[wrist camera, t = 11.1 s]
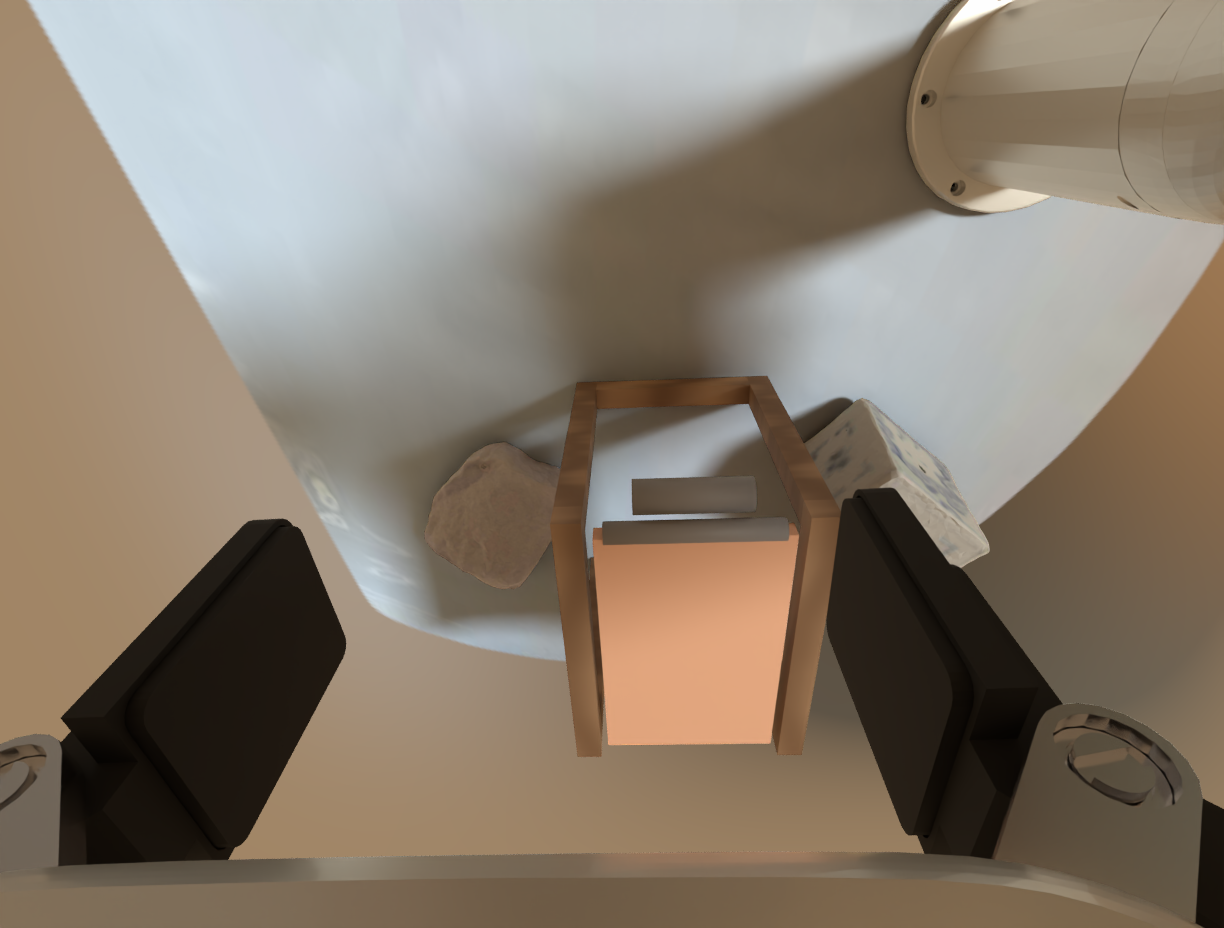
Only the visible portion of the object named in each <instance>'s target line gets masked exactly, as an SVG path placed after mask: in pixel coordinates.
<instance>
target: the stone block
mask: <svg viewBox="0 0 1224 928" xmlns="http://www.w3.org/2000/svg"><path fill="white" fill-rule="evenodd" d="M559 474H560V468H558V467H556V466H551V465H549V464H546V463H543V462H538V461H535V460H533V459H532V458H530V457H529V456H528V455H526V454H525V453H524V452H523V451H522V450H520V449H518V448H516V447H514V446H512V445H511V444H509V443H506V442H501V443H494V444H489V445H487V446H484V447H483V448H482V449H480V450H478V451H476V452H474V453H473V454H472V455H471V456H470V457H469V458H468V459H467V460H466V461H465V462H464V464H463V465H462V466H461V467H460V469H459V470H458V471H457V472H456V473H455V474H453V475H452V476H451V477H450V478H449V480H448V482H446V483H445V484H444V485H443V486H442V487H441V489H440V490H439V491H438V492H437V493H436V495H435V496H434V498H433V502H432V507H431V512H430V514H429V521H428V524H427V526H426V530H425V531H424V532H425V535H424V536H425V540H426V542H427V544H429V546H430V547H431V548H432V550H433V551H434V552H435V553H436V554H438V555H440V556H441V557H443V558H445V559H446V560H448V561H449V562H450V563H452V564H454V565H455V566H457V567H458V568H459V569H461V570H462V571H463V572H466V573H469V574H471V575H474V576H475V577H476V578H478V579H479V580H480V581H482V582H484V583H486V584H488V585H490V586H493V587H496V588H500V589H506V588H511V589H515V588H517V587H520V586H521V585H522V583H523V582H524V581H525V580H526V579H527V578H528V576H529V575H530V573H531V572H532V570H533V569H534V567H535V566H536V565H537V563H538V562H539V560H540V558H541V557H542V555H543V554H544V552H545V550H546V548H547V547H548V545H549V543H550V542H551V540H552V538H551V529H550V521H551V516H552V511H553V506H554V500H555V495H556V490H557V485H558V479H559Z"/></svg>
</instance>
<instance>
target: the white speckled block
mask: <svg viewBox="0 0 1224 928" xmlns="http://www.w3.org/2000/svg"><path fill="white" fill-rule="evenodd" d="M804 445H805V446H806V448H807V450H808V452H809V454H810V455H811V457H812V459H813V461H814V463H815V465H816V466H817V468H818V470H819V472H820V474H821V476H822V477H823V479H824V481H825V483H826V485H827V487H828V488H829V490H830V492H831V494H832V496H833V498H834V499H835V501H836V503H837V505H838V507H839V509H840V510H841V507H842V502H843V500H844V499H846V498H853V494H854V493H855V491H856V490H857V489H869V488H889V487H891V488H895V489H896V490H897V491H898V493H899V494H900V496H901V497H902V498H903V500H904V501H905V502H906V504H907V505H908V507H909V508H910V509H911V511H912V512H913V514H914V515H915V516H916V518H917V519H918V520H919V522H920V523H921V525H922V526H923V527H924V529H925V530H926V532H927V533H928V534H929V536H930V537H931V539H932V540H933V541H934V543H935V544H936V545H937V547H938V548H939V550H940V551H941V552H942V554H943V555H944V557H945V558H946V559H947V561H948V562H949V563H950V564H954V565H956V566H958V567H960V568H961V567H963V566H964V565H965V564H967V563H969V562H971V561H973V560H975V559H976V558H978V557H980V556H983V555H985V554H987V553H988V552H989V543H988V541H987V539H986V537H985V536H984V534H983V532H982V531H981V529H980V527H979V525H978V524H977V521H976V520H975V518H974V516H973V515H972V513H971V512H970V510H969V508H968V506H967V504H966V502H965V500H964V499H963V497H962V495H961V494H960V492H959V490H958V488H957V486H956V484H955V481H954V479H953V477H952V475H951V473H950V471H949V470H948V469H947V467H946V466H945V465H944V464H943V463H942V462H941V461H940V460H939V459H938V458H937V457H935V456H934V455H933V454H931V453H930V452H929V451H928V450H926V449H925V448H924V447H923V446H921V445H920V444H919V443H918V442H916V441H915V440H914V439H913V438H912V437H911V436H910V435H909V434H908V433H907V432H905V431H904V430H903V429H902V428H901V427H900V426H898V425H897V424H895V423H894V422H893V421H892V420H891V419H890V418H889V417H888V416H887V415H886V414H885V413H883V412H882V411H881V410H880V409H879V408H878V407H877V406H876V405H874V404H873V403H872V402H870V401H869V400H866V399H863V398H861V399H859V400H856V401H855V402H854V403H853V404H852V405H851V406H850V407H849V408H848V409H846V410H845V411H844V412H843V413H841V414H840V415H839V416H838V417H837V418H836V419H835V420H834V421H833V422H831V423H830V424H829V425H828V426H827V427H825V428H824V429H823V430H821V431H820V432H819V433H818V434H817V435H815V436H814V437H813V438H811V439H810V440H808V441H807V442H805V443H804Z"/></svg>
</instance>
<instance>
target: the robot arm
mask: <svg viewBox="0 0 1224 928" xmlns="http://www.w3.org/2000/svg"><path fill="white" fill-rule="evenodd" d="M923 94H924V95H925V96H926V101H925V102H924V103H923V104H921V98H922V95H923ZM906 132H907V139H908V146H909V151H910V154H911V157H912V160H913V163H914V166H915V168H916V170H917V172H918V173H919V175H920V176H921V178H922V180H923V181H924V183H925V184H926V185H927V186H928V187H929V188H930V189H931V190H932V191H933V192H934V193H935V194H936V195H937V196H938V197H940V198H942V199H943V200H945V201H947V202H949V203H950V204H952V205H954V206H958V207H961V208H964V209H967V210H972V211H978V212H984V213H997V212H1009V211H1013V210H1018V209H1022V208H1026V207H1029V206H1031V205H1034V204H1036V203H1039V202H1041V201H1043V200H1046V199H1048V198H1050V197H1051V196H1055V197H1060V198H1066V199H1072V200H1077V201H1083V202H1088V203H1094V204H1099V205H1105V206H1111V207H1116V208H1122V209H1127V210H1133V211H1139V212H1144V213H1150V214H1155V215H1161V216H1166V217H1172V218H1178V219H1186V220H1192V221H1198V222H1203V223H1211V224H1221V225H1224V0H962V1H961V2H960V3H959V4H958V5H957V6H956V7H955V8H954V9H953V10H952V11H951V12H950V14H949V15H948V16H947V18H946V19H945V20H944V22H943V23H942V24H941V26H940V27H939V28H938V30H937V31H936V32H935V34H934V36H933V37H932V39H931V41H930V43H929V45H928V47H927V48H926V50H925V52H924V54H923V56H922V58H921V60H920V63H919V66H918V68H917V71H916V74H915V76H914V79H913V81H912V86H911V91H910V95H909V100H908V105H907V122H906ZM953 183H954V184H955V187H954V189H953V190H952V191H951V190H950V188H951V186H952V184H953ZM826 621H827V632H828V636H829V639H830V642H831V644H832V647H833V650H834V653H835V655H836V658H837V660H838V663H839V665H840V668H841V671H842V673H843V676H844V678H845V681H846V684H847V686H848V689H849V691H850V694H851V696H852V699H853V702H854V704H855V707H856V710H857V712H858V714H859V717H860V720H861V723H862V725H863V727H864V730H865V733H866V735H867V738H868V741H869V743H870V746H871V749H872V751H873V754H874V756H875V759H876V761H877V764H878V767H879V769H880V772H881V774H882V777H883V780H884V782H885V785H886V787H887V790H888V793H889V795H890V798H891V800H892V803H893V805H894V808H895V811H896V813H897V816H898V818H899V821H900V823H901V826H902V828H903V829H904V831H905V832H906V834H908V835H917V836H918V839H919V841H920V844H921V846H922V848H923V851H924V854H919V853H900V852H897V853H896V852H686V853H685V852H684V853H683V852H681V853H680V852H679V853H593V854H591V853H585V854H523V855H522V854H521V855H520V854H518V855H456V856H455V855H454V856H396V857H342V858H295V859H249V860H228V859H229V857H230V855H231V853H232V852H233V850H234V848H235V847H237V846H239V845H241V844H242V843H243V842H244V841H245V840H246V839H247V837H248V835H249V834H250V832H251V830H252V828H253V826H254V825H255V823H256V820H257V819H258V817H259V815H260V813H261V811H262V809H263V808H264V806H265V804H266V802H267V800H268V798H269V796H270V794H271V793H272V790H273V789H274V787H275V785H276V783H277V781H278V779H279V777H280V776H281V774H282V772H283V770H284V768H285V766H286V764H287V762H288V760H289V759H290V757H291V755H292V753H293V751H294V749H295V747H296V745H297V743H298V742H299V740H300V738H301V736H302V734H303V732H304V730H305V728H306V727H307V725H308V723H309V721H310V719H311V717H312V715H313V713H314V711H315V710H316V708H317V706H318V704H319V702H320V700H321V698H322V696H323V695H324V693H325V691H326V689H327V687H328V685H329V683H330V681H331V680H332V678H333V676H334V674H335V672H336V670H337V668H338V666H339V664H340V663H341V660H342V659H343V656H344V654H345V649H346V638H345V635H344V632H343V630H342V627H341V625H340V623H339V620H338V618H337V615H336V613H335V611H334V608H333V606H332V603H331V601H330V599H329V596H328V594H327V591H326V589H325V586H324V584H323V582H322V579H321V577H320V574H319V572H318V569H317V567H316V565H315V562H314V560H313V558H312V555H311V553H310V550H309V548H308V545H307V543H306V541H305V538H304V536H303V533H302V532H301V530H300V529H299V528H298V527H295V526H292V524H291V523H290V522H289V521H288V520H286V519H269V520H252V521H248V522H247V523H246V524H245V525H244V526H242V527H241V528H240V530H239V531H238V532H237V533H236V534H235V535H234V536H233V537H232V538H231V539H230V540H229V541H228V542H227V543H226V544H225V545H224V546H223V547H222V548H221V550H220V551H219V552H218V553H217V554H216V555H215V556H214V557H213V558H212V559H211V560H210V561H209V562H208V563H207V564H206V565H205V566H204V567H203V568H202V570H201V571H200V572H199V573H198V574H197V575H196V576H195V577H194V578H193V579H192V580H191V581H190V582H189V583H188V584H187V585H186V586H185V587H184V589H183V590H182V591H181V592H180V593H179V594H178V595H177V596H176V597H175V598H174V599H173V600H172V601H171V602H170V603H169V604H168V605H167V607H165V609H164V610H163V611H162V612H161V613H160V614H159V615H158V616H157V617H156V618H155V619H154V620H153V621H152V622H151V623H150V624H149V625H148V627H146V629H145V630H144V631H143V632H142V633H141V634H140V635H139V636H138V637H137V638H136V639H135V640H134V641H133V642H132V643H131V644H130V645H129V647H127V649H126V650H125V651H124V652H123V653H122V654H121V655H120V656H119V657H118V658H117V659H116V660H115V661H114V662H113V663H112V665H110V666H109V668H108V669H107V670H106V671H105V672H104V673H103V674H102V675H101V676H100V677H99V678H98V679H97V680H96V681H95V682H94V683H93V684H92V685H91V687H90V688H89V689H88V690H87V691H86V692H85V693H84V694H83V695H82V696H81V697H80V698H79V699H78V700H77V701H76V702H75V704H73V705H72V706H71V708H70V709H69V710H68V711H67V712H66V713H65V714H64V715H63V716H62V717H61V719H62V720H63V722H64V723H65V724H66V725H67V726H68V728H69V729H70V730H71V732H70V733H69V734H68V735H67V736H66V738H65V739H64V740H63V741H62V742H60V741H59V740H57V739H56V738H54V737H53V736H51V735H44V734H33V735H28V736H23V737H18V738H15V739H12V740H9V741H7V742H4V743H2V744H0V928H1224V809H1222V808H1220V807H1218V806H1216V805H1214V804H1212V803H1210V802H1208V801H1206V800H1205V799H1203V797H1202V792H1201V787H1200V781H1199V779H1198V777H1197V775H1196V774H1195V772H1194V770H1193V769H1192V767H1191V765H1190V764H1189V762H1188V761H1187V759H1186V758H1184V757H1183V755H1182V754H1181V753H1180V752H1179V751H1178V750H1177V749H1176V748H1175V747H1174V746H1173V745H1172V744H1171V743H1170V742H1169V741H1167V740H1166V739H1165V738H1163V737H1162V736H1160V735H1159V734H1158V733H1156V732H1155V731H1154V730H1152V729H1151V728H1150V727H1148V726H1146V725H1144V724H1143V723H1141V722H1138V721H1136V720H1134V719H1133V718H1131V717H1129V716H1127V715H1125V714H1123V713H1120V712H1117V711H1114V710H1111V709H1108V708H1104V707H1102V706H1097V705H1090V704H1083V703H1072V704H1062V702H1061V701H1060V700H1059V698H1058V697H1057V696H1056V694H1055V693H1054V692H1053V690H1052V689H1051V688H1050V686H1049V685H1048V683H1047V682H1046V681H1045V679H1044V678H1043V677H1042V675H1041V674H1040V673H1039V672H1038V670H1037V669H1036V667H1035V666H1034V665H1033V663H1032V662H1031V661H1030V659H1029V658H1028V657H1027V655H1026V654H1025V653H1024V651H1023V650H1022V649H1021V647H1020V646H1019V644H1018V643H1017V642H1016V640H1015V639H1014V638H1013V636H1012V635H1011V634H1010V632H1009V631H1008V630H1007V628H1006V627H1005V626H1004V624H1003V623H1002V621H1001V620H1000V619H999V617H998V616H997V615H996V613H995V612H994V611H993V609H992V608H991V607H990V605H989V604H988V603H987V601H986V600H985V599H984V597H983V596H982V595H981V593H980V592H979V590H978V589H977V588H976V586H975V585H974V584H973V582H972V581H971V580H970V578H969V577H968V576H967V574H966V573H965V572H964V571H963V570H962V569H961V568H960V567H958V566H956V565H954V564H950V563H949V562H948V561H947V559H946V558H945V557H944V555H943V554H942V552H941V551H940V550H939V548H938V547H937V545H936V544H935V543H934V541H933V540H932V539H931V537H930V536H929V534H928V533H927V532H926V530H925V529H924V527H923V526H922V525H921V523H920V522H919V520H918V519H917V518H916V516H915V515H914V514H913V512H912V511H911V509H910V508H909V507H908V505H907V504H906V502H905V501H904V500H903V498H902V497H901V496H900V494H899V493H898V491H897V490H896V489H895V488H891V487H889V488H869V489H857V490H856V491H855V493H854V494H853V498H846V499H844V500H843V502H842V507H841V514H840V522H839V529H838V537H837V544H836V551H835V559H834V566H833V573H832V581H831V588H830V595H829V603H828V610H827V620H826Z"/></svg>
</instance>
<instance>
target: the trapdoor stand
mask: <svg viewBox="0 0 1224 928" xmlns="http://www.w3.org/2000/svg"><path fill="white" fill-rule="evenodd" d="M728 404H749V406H750V408H751V410H752V413H753V415H754V417H755V420H756V422H757V424H758V427H759V429H760V431H761V434H762V436H763V438H764V441H765V443H766V445H767V448H768V450H769V452H770V455H771V457H772V459H773V462H774V464H775V466H776V469H777V471H778V474H779V476H780V478H781V481H782V483H783V485H784V488H785V490H786V492H787V495H788V497H789V499H790V502H791V504H792V506H793V509H794V511H795V513H796V516H797V518H798V520H799V523H800V525H801V526H800V533H799V540H798V548H797V555H796V563H795V570H794V577H793V585H792V592H791V600H790V607H789V614H788V622H787V629H786V636H785V644H784V651H783V659H782V662H781V670H780V677H779V684H778V691H777V699H776V706H775V713H774V720H773V728H772V734H773V739H774V743H775V747H776V751H777V755H802V750H803V745H804V739H805V734H806V728H807V722H808V717H809V711H810V706H811V700H812V694H813V689H814V683H815V678H816V672H817V666H818V660H819V655H820V649H821V644H822V638H823V633H824V627H825V621H826V616H827V610H828V603H829V595H830V588H831V581H832V573H833V566H834V559H835V551H836V544H837V537H838V529H839V522H840V514H841V510H840V509H839V507H838V505H837V503H836V501H835V499H834V498H833V496H832V494H831V492H830V490H829V488H828V487H827V485H826V483H825V481H824V479H823V477H822V476H821V474H820V472H819V470H818V468H817V466H816V465H815V463H814V461H813V459H812V457H811V455H810V454H809V452H808V450H807V448H806V446H805V445H804V443H803V441H802V439H801V437H800V435H799V434H798V432H797V430H796V428H795V426H794V424H793V423H792V421H791V419H790V417H789V415H788V413H787V412H786V410H785V408H784V406H783V404H782V402H781V401H780V399H779V397H778V395H777V393H776V391H775V390H774V388H773V386H772V384H771V382H770V380H769V379H768V377H767V376H752V377H724V378H695V379H666V380H638V381H609V382H580V383H577V385H576V391H575V396H574V401H573V406H572V411H571V417H570V422H569V427H568V432H567V438H566V443H565V448H564V453H563V459H562V464H561V469H560V474H559V479H558V485H557V490H556V495H555V500H554V506H553V511H552V516H551V521H550V529H551V538H552V546H553V554H554V563H555V571H556V579H557V588H558V596H559V605H560V613H561V621H562V630H563V638H564V646H565V655H566V663H567V671H568V680H569V688H570V696H571V705H572V713H573V721H574V729H575V738H576V747H577V755H578V757H593V756H596V757H599V756H601V754H602V752H601V751H602V729H603V728H602V727H603V704H604V680H603V668H602V655H601V642H600V629H599V617H598V604H597V591H596V578H595V566H594V558H591V565H590V577H589V573H588V561H587V549H586V537H585V525H586V515H587V505H588V495H589V486H590V476H591V466H592V457H593V447H594V437H595V428H596V418H597V409H606V408H637V407H667V406H697V405H728Z"/></svg>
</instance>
